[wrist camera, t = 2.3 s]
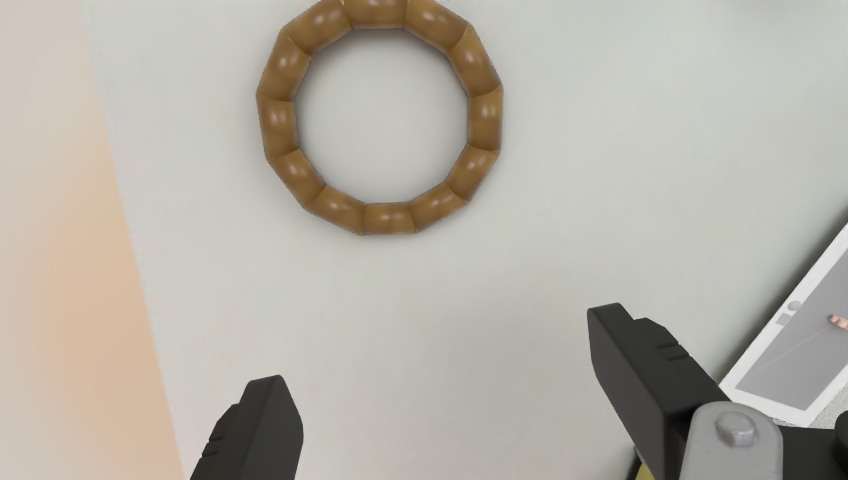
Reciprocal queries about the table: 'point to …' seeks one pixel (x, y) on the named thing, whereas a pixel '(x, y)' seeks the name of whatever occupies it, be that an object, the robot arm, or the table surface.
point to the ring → (379, 9)
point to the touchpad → (800, 346)
